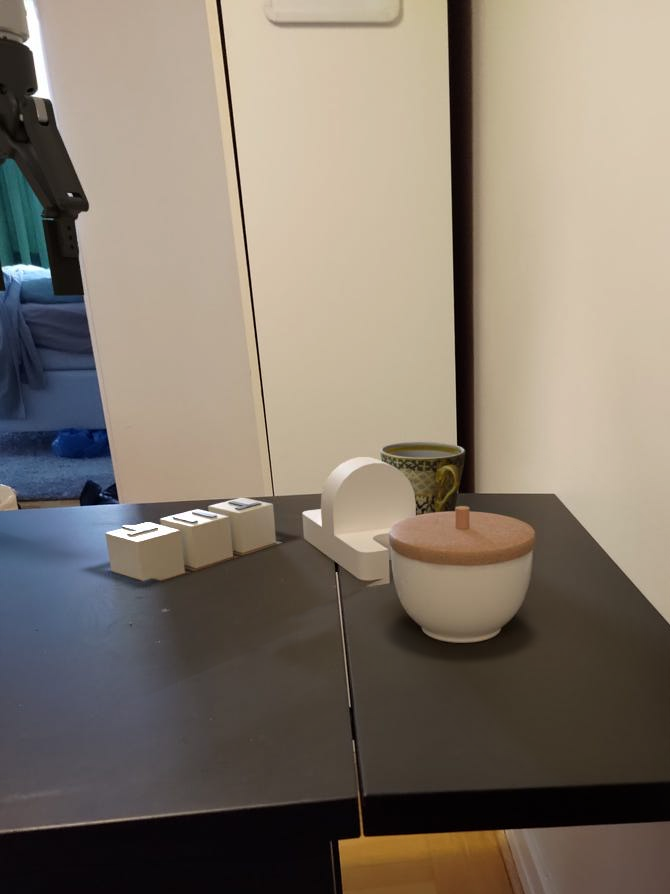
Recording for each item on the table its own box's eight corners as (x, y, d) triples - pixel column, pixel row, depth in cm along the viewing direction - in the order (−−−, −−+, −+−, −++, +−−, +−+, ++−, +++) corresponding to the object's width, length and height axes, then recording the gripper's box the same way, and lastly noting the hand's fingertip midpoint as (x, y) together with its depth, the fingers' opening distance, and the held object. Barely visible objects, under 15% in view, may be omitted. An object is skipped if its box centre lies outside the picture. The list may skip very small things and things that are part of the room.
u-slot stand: (362, 587, 88) (358, 481, 84) (301, 541, 103) (295, 448, 98) (446, 573, 93) (446, 472, 89) (376, 531, 107) (374, 442, 103)
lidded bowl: (482, 668, 71) (484, 537, 67) (362, 633, 77) (357, 511, 73) (556, 621, 81) (562, 503, 77) (444, 593, 87) (444, 483, 83)
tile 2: (211, 545, 98) (207, 504, 97) (245, 535, 102) (242, 496, 100) (242, 553, 96) (238, 511, 94) (276, 542, 100) (273, 502, 98)
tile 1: (109, 575, 88) (102, 531, 87) (151, 563, 92) (145, 520, 90) (143, 586, 86) (137, 540, 84) (185, 572, 90) (179, 528, 88)
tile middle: (164, 559, 93) (159, 517, 92) (202, 548, 97) (197, 507, 95) (196, 568, 91) (191, 525, 89) (233, 556, 95) (229, 515, 93)
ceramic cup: (368, 527, 109) (365, 446, 105) (438, 516, 114) (438, 438, 110) (419, 555, 99) (419, 466, 95) (493, 542, 104) (495, 457, 100)
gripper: (107, 33, 76) (140, 296, 84) (-46, 62, 88) (-4, 289, 97) (24, 13, 70) (68, 298, 78) (-127, 47, 83) (-75, 289, 91)
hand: (28, 293), depth 88 cm, fingers open, 13 cm apart
